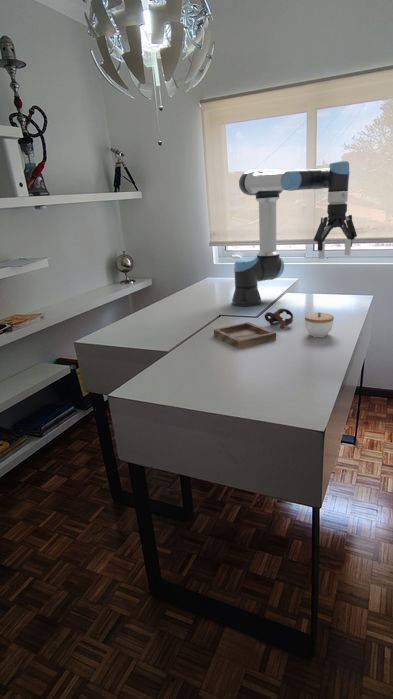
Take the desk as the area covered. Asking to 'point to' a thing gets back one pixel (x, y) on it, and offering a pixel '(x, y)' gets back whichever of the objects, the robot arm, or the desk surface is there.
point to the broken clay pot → (279, 317)
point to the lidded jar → (319, 324)
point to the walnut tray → (244, 335)
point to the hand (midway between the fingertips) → (334, 257)
